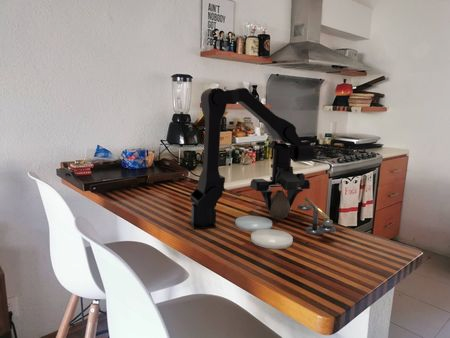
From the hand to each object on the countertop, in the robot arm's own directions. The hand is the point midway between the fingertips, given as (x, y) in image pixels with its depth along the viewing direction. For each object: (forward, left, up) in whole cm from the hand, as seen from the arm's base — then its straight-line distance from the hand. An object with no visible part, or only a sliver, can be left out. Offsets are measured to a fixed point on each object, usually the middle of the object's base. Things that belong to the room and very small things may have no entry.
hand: (278, 209), depth 110 cm
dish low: (-11, -18, -2) cm, 21 cm away
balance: (+4, -15, -2) cm, 16 cm away
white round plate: (-11, -6, -2) cm, 13 cm away
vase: (0, 0, -3) cm, 3 cm away
